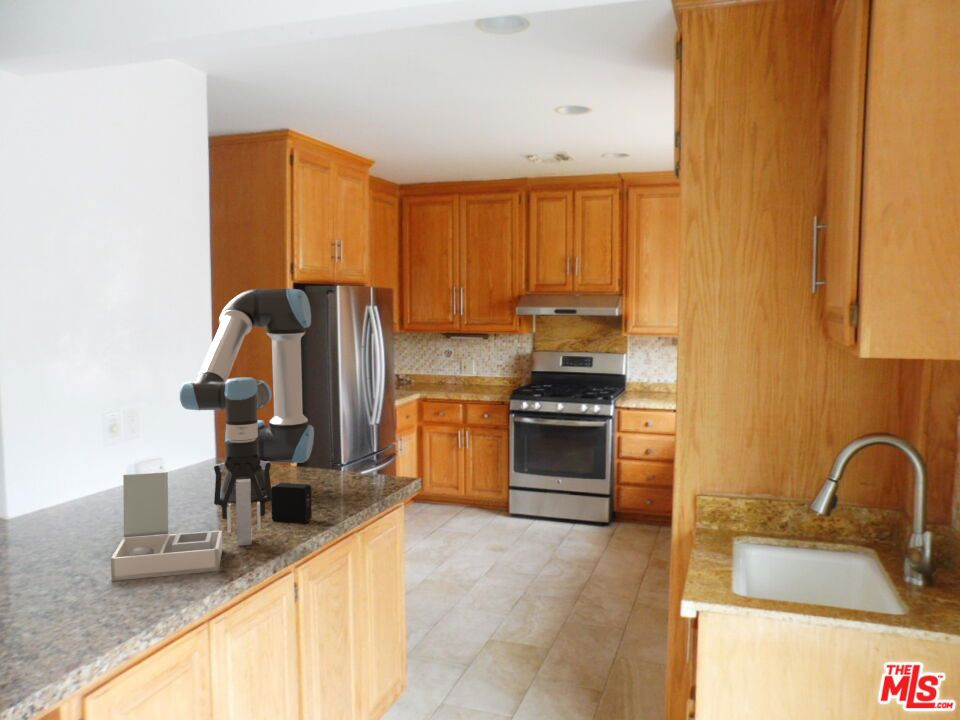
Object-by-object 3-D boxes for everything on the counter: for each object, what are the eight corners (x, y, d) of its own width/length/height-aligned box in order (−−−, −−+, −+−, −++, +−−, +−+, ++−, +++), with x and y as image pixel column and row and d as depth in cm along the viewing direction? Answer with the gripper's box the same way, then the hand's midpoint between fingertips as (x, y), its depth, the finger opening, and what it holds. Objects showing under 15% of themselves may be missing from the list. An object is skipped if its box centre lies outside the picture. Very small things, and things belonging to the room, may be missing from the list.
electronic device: (305, 524, 196) (304, 488, 195) (271, 521, 198) (270, 486, 197) (311, 519, 200) (311, 484, 199) (278, 517, 202) (278, 482, 201)
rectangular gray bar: (237, 541, 181) (236, 479, 180) (251, 540, 182) (250, 478, 181) (237, 545, 178) (235, 483, 177) (251, 544, 179) (250, 482, 178)
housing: (124, 558, 169) (123, 534, 168) (222, 550, 175) (222, 526, 174) (111, 581, 155) (110, 554, 155) (218, 570, 162) (218, 545, 161)
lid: (123, 537, 168) (124, 537, 169) (167, 534, 170) (168, 533, 171) (123, 475, 169) (124, 474, 170) (167, 472, 171) (167, 472, 172)
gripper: (199, 444, 172) (201, 537, 174) (282, 440, 177) (284, 531, 179) (202, 438, 179) (204, 528, 181) (282, 435, 184) (283, 522, 186)
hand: (244, 529), depth 180 cm, fingers open, 6 cm apart
